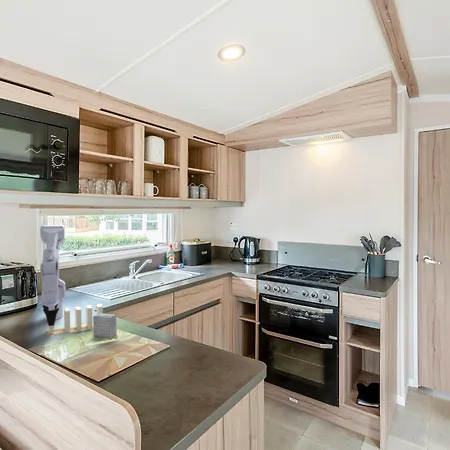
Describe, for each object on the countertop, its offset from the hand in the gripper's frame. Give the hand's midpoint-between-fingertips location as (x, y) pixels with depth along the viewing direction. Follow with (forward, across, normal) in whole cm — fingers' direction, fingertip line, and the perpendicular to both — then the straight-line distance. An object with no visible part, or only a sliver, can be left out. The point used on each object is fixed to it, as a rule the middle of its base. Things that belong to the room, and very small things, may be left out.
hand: (50, 323), depth 136 cm
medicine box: (+5, +14, +18) cm, 24 cm away
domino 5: (+4, 0, +19) cm, 19 cm away
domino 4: (+4, 0, +15) cm, 15 cm away
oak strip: (+4, 0, +10) cm, 11 cm away
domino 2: (+4, 0, +6) cm, 7 cm away
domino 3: (+4, 0, +10) cm, 11 cm away
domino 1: (+3, 0, 0) cm, 3 cm away
